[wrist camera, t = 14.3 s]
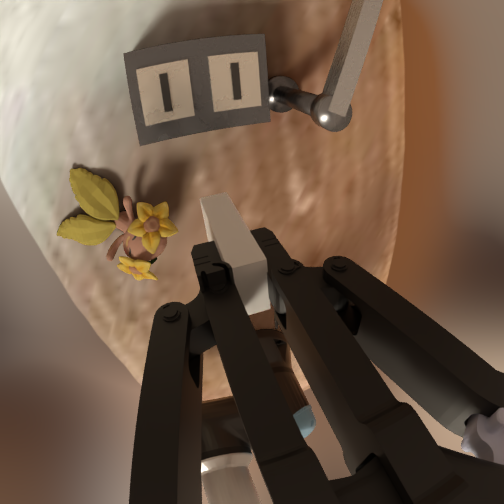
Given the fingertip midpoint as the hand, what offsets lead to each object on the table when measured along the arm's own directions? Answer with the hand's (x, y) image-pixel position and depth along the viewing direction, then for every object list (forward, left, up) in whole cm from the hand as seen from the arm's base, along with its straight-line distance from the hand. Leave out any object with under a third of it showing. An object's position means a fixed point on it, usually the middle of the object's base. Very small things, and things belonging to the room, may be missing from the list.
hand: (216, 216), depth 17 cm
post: (+3, -13, -23) cm, 27 cm away
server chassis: (+6, -2, -23) cm, 24 cm away
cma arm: (+12, -17, -12) cm, 23 cm away
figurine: (-10, +11, -24) cm, 28 cm away
